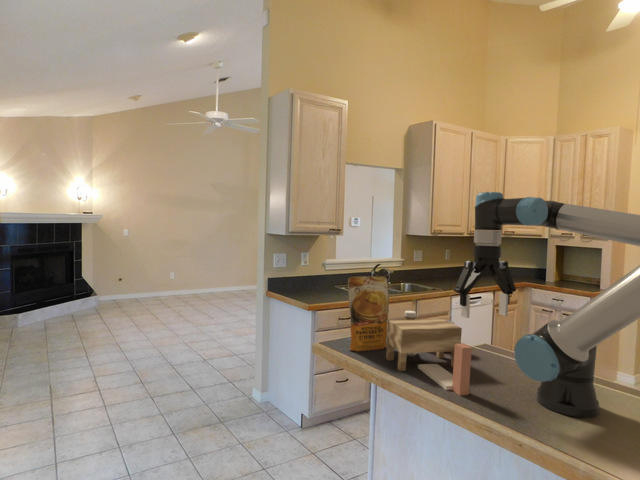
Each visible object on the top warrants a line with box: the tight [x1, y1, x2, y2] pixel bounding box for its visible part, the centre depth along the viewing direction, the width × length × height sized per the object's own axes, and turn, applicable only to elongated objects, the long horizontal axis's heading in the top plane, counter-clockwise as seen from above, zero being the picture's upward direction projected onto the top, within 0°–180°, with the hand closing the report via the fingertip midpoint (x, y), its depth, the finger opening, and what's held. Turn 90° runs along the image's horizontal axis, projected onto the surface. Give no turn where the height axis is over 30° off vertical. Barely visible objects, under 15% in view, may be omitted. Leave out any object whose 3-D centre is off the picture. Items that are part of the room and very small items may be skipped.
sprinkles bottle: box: [404, 310, 417, 320], centre depth 165 cm, size 5×5×14 cm
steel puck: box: [406, 353, 418, 358], centre depth 154 cm, size 6×6×2 cm
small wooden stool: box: [385, 318, 463, 372], centre depth 144 cm, size 12×22×14 cm, turn 103°
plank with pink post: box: [417, 342, 473, 396], centre depth 129 cm, size 22×7×14 cm, turn 13°
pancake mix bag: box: [347, 275, 390, 352], centre depth 158 cm, size 7×19×28 cm, turn 112°
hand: (484, 316), depth 122 cm, fingers open, 13 cm apart
